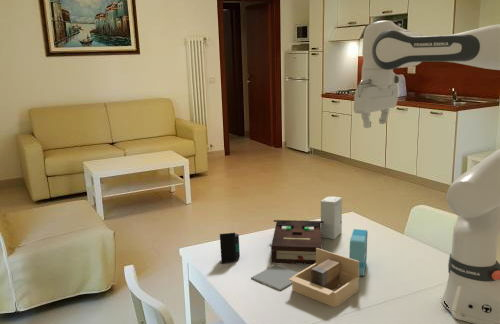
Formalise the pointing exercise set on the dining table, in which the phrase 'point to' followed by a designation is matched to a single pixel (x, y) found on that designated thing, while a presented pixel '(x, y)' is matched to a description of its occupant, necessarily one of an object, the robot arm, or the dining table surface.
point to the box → (326, 274)
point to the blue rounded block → (359, 248)
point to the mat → (275, 277)
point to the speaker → (229, 247)
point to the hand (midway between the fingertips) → (375, 125)
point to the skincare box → (331, 217)
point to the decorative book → (296, 242)
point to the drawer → (329, 297)
